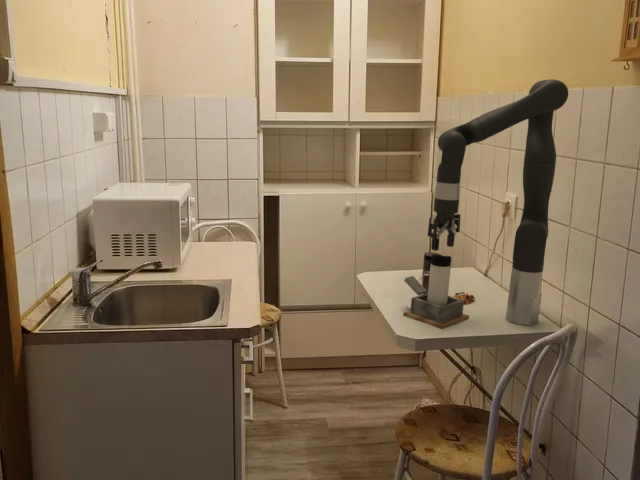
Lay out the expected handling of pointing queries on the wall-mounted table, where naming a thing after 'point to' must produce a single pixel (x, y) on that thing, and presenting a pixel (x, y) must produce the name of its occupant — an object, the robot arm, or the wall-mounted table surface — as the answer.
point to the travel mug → (439, 279)
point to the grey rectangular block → (415, 285)
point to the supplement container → (427, 261)
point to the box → (426, 280)
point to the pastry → (464, 297)
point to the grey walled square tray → (436, 311)
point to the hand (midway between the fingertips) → (442, 248)
